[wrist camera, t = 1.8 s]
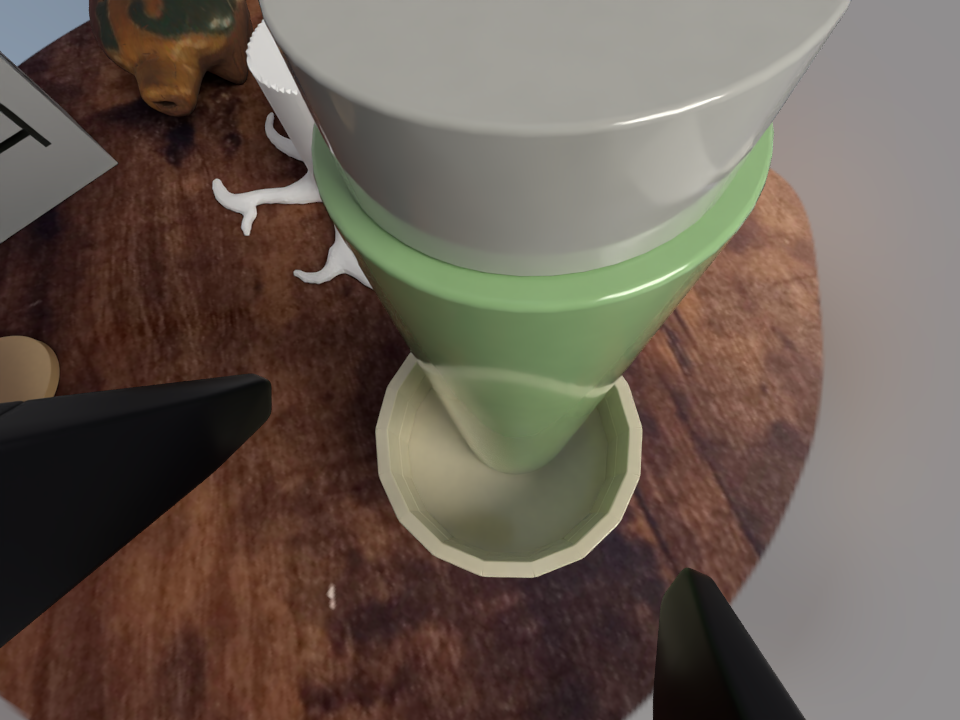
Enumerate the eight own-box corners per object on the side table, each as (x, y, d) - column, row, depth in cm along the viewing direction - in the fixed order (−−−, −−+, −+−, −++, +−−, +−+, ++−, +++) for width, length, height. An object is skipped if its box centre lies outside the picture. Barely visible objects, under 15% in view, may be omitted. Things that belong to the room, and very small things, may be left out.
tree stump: (435, 39, 32) (412, -109, 24) (576, 201, 25) (605, 65, 17) (194, 143, 29) (85, 15, 22) (278, 354, 23) (163, 273, 15)
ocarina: (271, 5, 35) (212, -130, 27) (276, 138, 30) (207, 21, 23) (157, 19, 34) (65, -113, 27) (145, 157, 30) (29, 44, 22)
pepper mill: (550, 491, 18) (926, 276, 2) (446, 452, 18) (66, 77, 3) (581, 388, 19) (925, -217, 3) (483, 356, 20) (386, -232, 4)
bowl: (579, 599, 17) (605, 630, 13) (372, 511, 19) (328, 510, 15) (632, 390, 20) (668, 353, 16) (450, 332, 22) (434, 284, 18)
